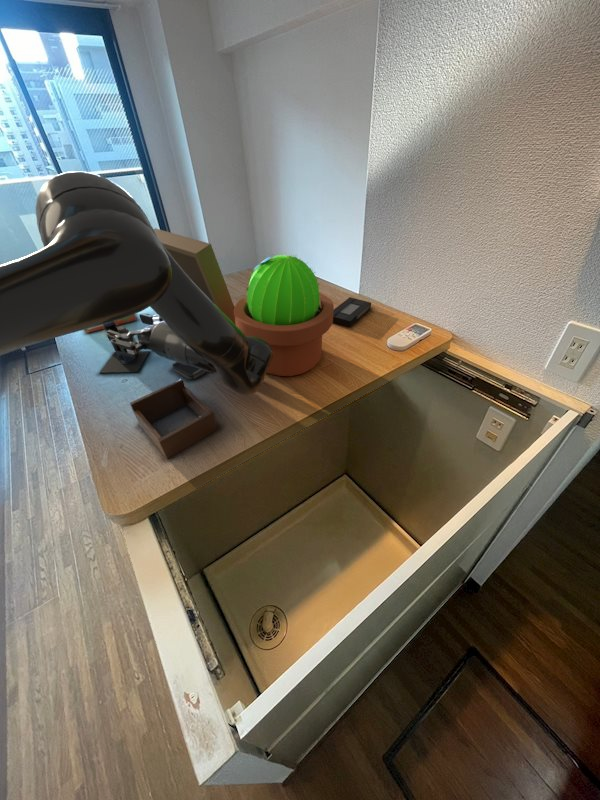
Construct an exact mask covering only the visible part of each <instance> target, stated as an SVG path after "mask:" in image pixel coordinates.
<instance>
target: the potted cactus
mask: <svg viewBox="0 0 600 800" xmlns="http://www.w3.org/2000/svg"><path fill="white" fill-rule="evenodd" d="M271 256H272V257H271ZM308 263H309V262H308V261H306V262H304V261H303V260H302V258H301V257H298V255H297V254H294V253H293V254H291V253H289V255H286V252H284V254H283V255H282V254H277V255H275V256H274V254H272V255H270V256H268V257H266V258H265V259H263V260H262V261H261V262H259V263H258V265H256V266H254V268H253V273H249V272H248V273H249V274H248V275H250V278H249V279H248V280H247V282H249V283H248V286H247V287H245V288H246V289H245V291H247V294H246V296H243V297H242V298H240V300H238V301H237V302H236V304H235V305H234V318H235V324H236V326H237V327H238V328H239V329H240V330H241V331H242V332H243V333H244V335H245V336H254V337H258V338H260V339H263V340H264V341H266V342H267V343H268V344H269V345H270V346H271V348H272V350H273V359H272V362H271V364H270V366H269V368H268V371H267V373H266V374H269V375H274V376H280V377H293V376H298V375H301V374H302V375H303V374H304V373H306V372H309V371H311V370H312V369H313V368H314V367H315V366H316V365H318V363H319V362H320V361H321V358H322V352H323V351H322V350H323V349H322V348H323V335H325V334H326V333H327V332H328V331H329V330H330V329H331V327H332V325H333V311H334V309H335V308H334V302H333V301H332V300H331V298H330V297H329V296H327V295H325V294H323V293H322V291H321V292H320V287H319V286H320V285H319V282H318V279H320V277H317V276H316V275H315V272H314V271H313V267H312V266H311V267H309V265H308Z"/></svg>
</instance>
